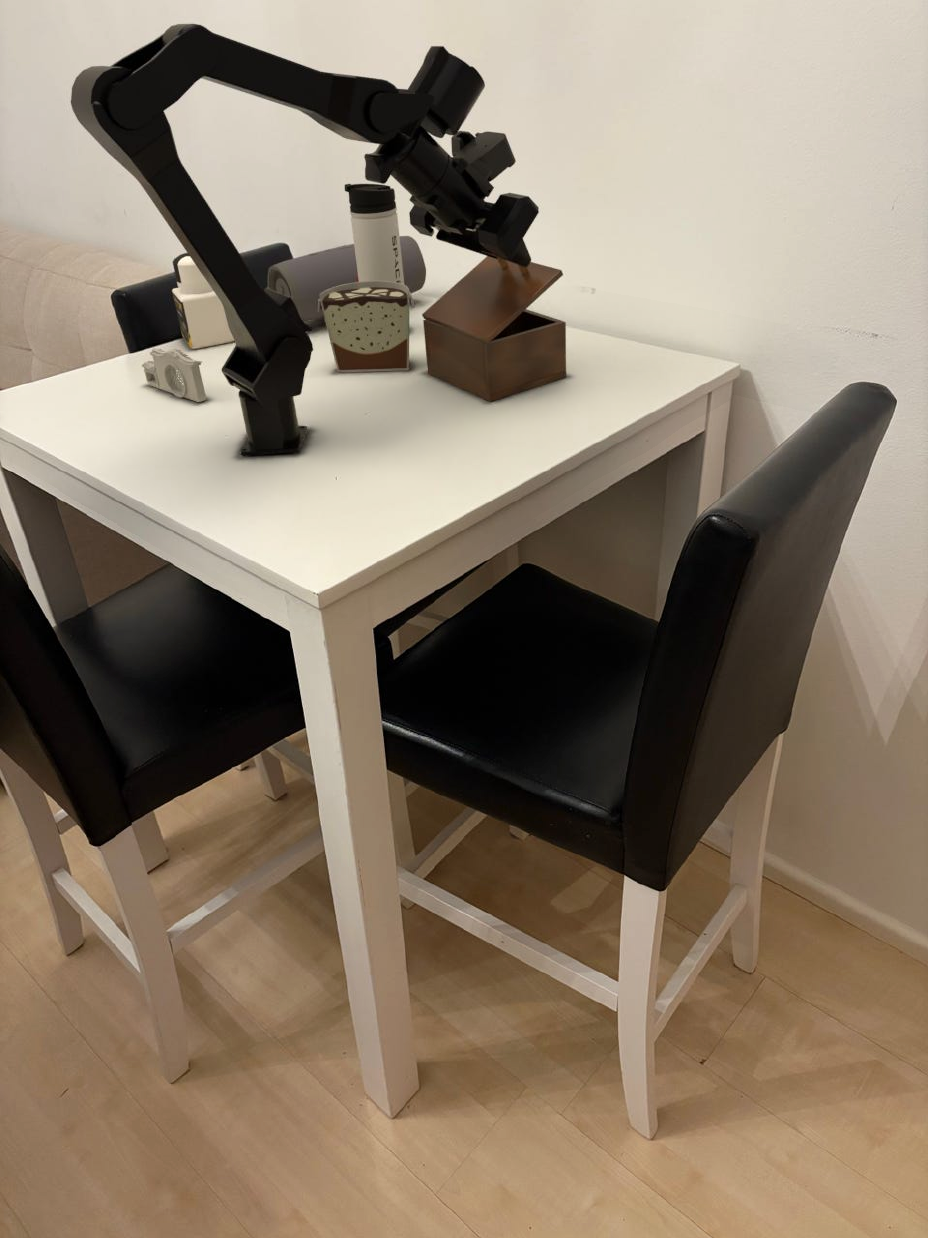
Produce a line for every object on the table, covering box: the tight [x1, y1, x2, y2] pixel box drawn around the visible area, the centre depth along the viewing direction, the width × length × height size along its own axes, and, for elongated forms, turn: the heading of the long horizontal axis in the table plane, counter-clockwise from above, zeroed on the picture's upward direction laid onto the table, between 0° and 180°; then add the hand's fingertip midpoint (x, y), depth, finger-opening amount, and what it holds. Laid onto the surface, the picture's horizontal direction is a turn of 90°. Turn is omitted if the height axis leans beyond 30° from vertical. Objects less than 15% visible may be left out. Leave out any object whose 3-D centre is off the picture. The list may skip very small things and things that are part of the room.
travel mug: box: [344, 183, 404, 284], centre depth 133 cm, size 6×7×20 cm
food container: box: [318, 281, 415, 373], centre depth 125 cm, size 12×6×10 cm, turn 84°
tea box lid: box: [421, 256, 564, 343], centre depth 114 cm, size 12×14×4 cm
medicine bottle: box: [171, 252, 235, 350], centre depth 139 cm, size 7×7×12 cm
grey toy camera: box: [141, 347, 207, 403], centre depth 122 cm, size 12×2×6 cm, turn 48°
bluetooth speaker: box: [267, 235, 427, 324], centre depth 145 cm, size 23×9×10 cm, turn 126°
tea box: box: [422, 308, 567, 402], centre depth 119 cm, size 12×14×7 cm
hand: (513, 259), depth 115 cm, fingers open, 5 cm apart
